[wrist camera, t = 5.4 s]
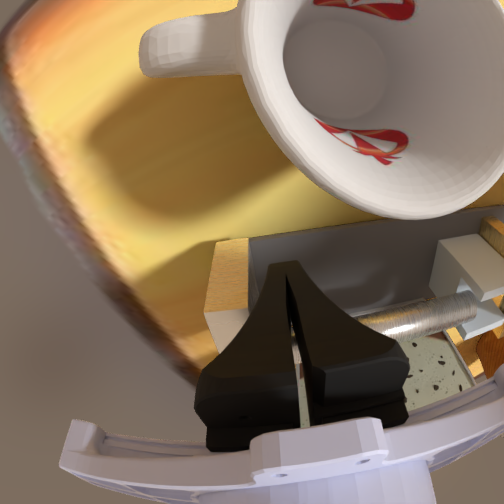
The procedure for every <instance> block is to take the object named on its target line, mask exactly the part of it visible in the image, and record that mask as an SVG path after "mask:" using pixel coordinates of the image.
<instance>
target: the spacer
mask: <svg viewBox="0 0 504 504" xmlns="http://www.w3.org/2000/svg"><path fill="white" fill-rule="evenodd" d="M478 235H480V236H481V237H482V238H483V239H484V240H485V241H486V242H487V243H488V244H489V245H490V246H491V247H492V248H493V249H494V250H495V251H496V252H498V253H499V254H500V255H501V256H502V257H503V258H504V224H503V223H502V222H501V221H500V220H498V219H497V218H496V217H495V216H487V217H482V218H481V223H480V228H479V233H478ZM491 299H492V300H493V301H494V302H495V304H496V305H497V306H498V308H499V309H500V310H501V312H502V313H503V314H504V295H503V297H502V296H501V295H499V296H497V297H494V298H491ZM492 330H493V332H494V333H495V335H496V336H497V338H498V339H499V338H501V337H504V323H503V325H501V326H499V327H496V328H494V329H492Z"/></svg>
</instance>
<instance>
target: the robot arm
mask: <svg viewBox="0 0 504 504" xmlns="http://www.w3.org/2000/svg"><path fill="white" fill-rule="evenodd" d="M291 322H292V326H293V330H294V333H295V337H296V341H297V345H298V349H299V353H300V357H301V362H302V368H303V375H304V383H305V390H306V398H307V406H308V414H309V423H310V427H304V428H301V423H300V422H301V421H300V408H299V396H298V385H297V377H296V369H295V363H294V356H293V350H292V337H291ZM409 371H410V364H409V361H408V359H407V356H406V354H405V353H404V351H403V349H402V348H401V346H400V345H399V343H398V342H397V340H395V339H393V338H390V337H388V336H386V335H383V334H381V333H379V332H377V331H375V330H373V329H371V328H369V327H367V326H365V325H364V324H362V323H361V322H359V321H357V320H356V319H354V318H353V317H351V316H350V315H349V314H347V313H346V312H345V311H343V310H342V309H341V308H340V307H338V306H337V305H336V304H335V303H334V302H333V301H332V300H330V299H329V298H328V297H327V296H326V295H325V294H324V293H323V292H322V291H321V290H320V288H319V287H318V286H317V285H316V284H315V283H314V282H313V280H312V279H311V278H310V277H309V275H308V274H307V273H306V271H305V270H304V269H303V267H302V265H301V264H300V262H299V261H298V260H293V261H286V262H279V263H272V264H269V265H268V269H267V274H266V278H265V281H264V285H263V287H262V290H261V293H260V295H259V297H258V299H257V302H256V304H255V306H254V308H253V310H252V312H251V313H250V315H249V317H248V319H247V320H246V322H245V323H244V325H243V326H242V328H241V329H240V331H239V332H238V333H237V335H236V336H235V337H234V338H233V340H232V341H231V342H230V343H229V344H228V345H227V346H226V348H225V349H224V350H223V351H222V352H221V353H220V354H219V355H218V356H217V357H216V358H215V359H214V360H213V361H212V362H210V363H209V364H208V365H207V366H206V367H205V368H203V369H202V372H201V375H200V377H199V381H198V384H197V388H196V393H195V402H194V409H195V412H196V413H197V415H198V416H199V417H200V419H201V420H202V421H203V423H204V424H205V425H206V426H207V435H206V442H195V441H174V440H161V439H150V438H141V437H133V436H126V435H119V434H113V433H107V432H105V431H104V430H103V429H102V428H101V427H100V426H98V425H96V424H94V423H91V422H86V421H82V420H76V419H73V420H72V422H71V425H70V428H69V431H68V435H67V438H66V441H65V444H64V448H63V451H62V455H61V458H60V462H59V467H60V468H62V469H64V470H66V471H67V472H69V473H71V474H73V475H75V476H77V477H79V478H81V479H83V480H85V481H87V482H89V483H91V484H93V485H95V486H99V487H102V488H106V489H109V490H113V491H116V492H120V493H123V494H127V495H131V496H135V497H139V498H144V499H148V500H153V501H158V502H163V503H168V504H437V503H436V499H435V494H434V490H433V486H432V481H431V478H430V472H433V471H435V470H437V469H439V468H441V467H443V466H446V465H448V464H450V463H451V462H453V461H455V460H457V459H459V458H461V457H463V456H465V455H467V454H469V453H470V452H472V451H474V450H475V449H477V448H479V447H481V446H482V445H484V444H486V443H487V442H489V441H491V440H492V439H494V438H495V437H497V436H499V435H500V434H502V433H503V432H504V364H502V365H501V366H500V367H499V368H498V369H497V370H496V372H495V374H494V376H493V377H491V378H489V379H487V380H485V381H483V382H481V383H479V384H477V385H475V386H473V387H471V388H468V389H466V390H464V391H462V392H459V393H457V394H455V395H452V396H450V397H447V398H445V399H442V400H440V401H437V402H435V403H432V404H429V405H426V406H424V407H421V408H418V409H415V410H412V411H409V412H408V411H407V408H406V405H405V402H404V400H403V399H404V398H405V393H404V390H403V388H402V387H403V385H404V383H405V381H406V378H407V376H408V374H409Z"/></svg>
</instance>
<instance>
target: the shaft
mask: <svg viewBox="0 0 504 504" xmlns="http://www.w3.org/2000/svg"><path fill="white" fill-rule="evenodd" d="M258 297H259V290H258V285H257V280H256V275H255V270H254V265H253V260H252V255H251V249H250V244H249V239H248V237H247V238H240V239H234V240H227V241H220V242H216V245H215V251H214V256H213V261H212V267H211V272H210V278H209V283H208V289H207V294H206V300H205V306H204V312H203V313H204V316H205V319H206V321H207V324H208V327H209V329H210V332H211V334H212V337H213V339H214V342H215V345H216V347H217V350H218V352H219V354H220V353H221V352H222V351H223V350H224V349H225V348H226V346H227V345H228V344H229V343H230V342H231V341H232V340H233V338H234V337H235V336H236V335H237V333H238V332H239V331H240V329H241V328H242V326H243V325H244V323H245V322H246V320H247V319H248V317H249V315H250V313H251V312H252V310H253V308H254V306H255V304H256V302H257V299H258ZM476 315H477V301H476V298H475V296H474V294H473V293H472V292H471V291H470V290H464V291H461V292H457V293H454V294H450V295H446V296H443V297H439V298H435V299H431V300H427V301H423V302H419V303H415V304H411V305H407V306H402V307H398V308H393V309H389V310H384V311H379V312H375V313H370V314H365V315H360V316H354V317H353V318H354V319H356V320H357V321H359V322H361V323H362V324H364V325H365V326H367V327H369V328H371V329H373V330H375V331H377V332H379V333H381V334H383V335H386V336H388V337H390V338H393V339H395V340H397V342H398V343H402V342H406V341H410V340H413V339H417V338H420V337H424V336H427V335H431V334H434V333H437V332H441V331H444V330H447V329H450V328H453V327H456V326H459V325H462V324H465V323H468V322H471V321H473V320H474V319H475V317H476ZM291 337H292V350H293V356H294V363H295V364H298V363H302V362H301V357H300V353H299V349H298V345H297V341H296V337H295V333H294V330H293V327H291Z"/></svg>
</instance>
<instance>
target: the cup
mask: <svg viewBox="0 0 504 504" xmlns="http://www.w3.org/2000/svg"><path fill="white" fill-rule="evenodd" d="M139 65H140V68H141V70H142V72H143V74H144V75H146V76H148V77H152V78H172V77H192V76H210V75H242V78H243V82H244V85H245V88H246V90H247V93H248V95H249V98H250V100H251V103H252V105H253V107H254V109H255V111H256V113H257V115H258V117H259V118H260V120H261V122H262V124H263V125H264V127H265V128H266V130H267V131H268V133H269V134H270V136H271V137H272V139H273V140H274V142H275V143H276V144H277V145H278V147H279V148H280V149H281V151H282V152H283V153H284V154H285V155H286V156H287V158H288V159H289V160H290V161H291V162H292V163H293V164H294V165H295V166H296V167H297V168H298V169H299V170H300V171H301V172H302V173H303V174H304V175H306V176H307V177H308V178H309V179H310V180H311V181H313V182H314V183H315V184H316V185H318V186H319V187H320V188H322V189H323V190H325V191H326V192H328V193H329V194H331V195H332V196H334V197H335V198H337V199H339V200H341V201H343V202H345V203H346V204H348V205H350V206H353V207H355V208H357V209H360V210H362V211H365V212H368V213H371V214H374V215H377V216H382V217H387V218H392V219H401V220H421V219H431V218H435V217H440V216H444V215H447V214H450V213H453V212H455V211H457V210H459V209H462V208H464V207H465V206H467V205H469V204H471V203H472V202H474V201H475V200H477V199H478V198H479V197H481V196H482V195H483V194H484V193H486V192H487V191H488V190H489V189H490V188H491V187H492V186H493V185H494V184H495V182H496V181H497V180H498V179H499V178H500V176H501V175H502V174H503V172H504V9H503V7H502V6H501V4H500V2H499V1H498V0H239V1H238V4H237V7H236V8H235V9H232V10H230V11H227V12H221V13H213V14H205V15H195V16H189V17H184V18H179V19H174V20H171V21H167V22H164V23H161V24H158V25H156V26H154V27H152V28H151V29H149V30H147V31H146V32H145V33H144V35H143V36H142V38H141V41H140V45H139Z"/></svg>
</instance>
